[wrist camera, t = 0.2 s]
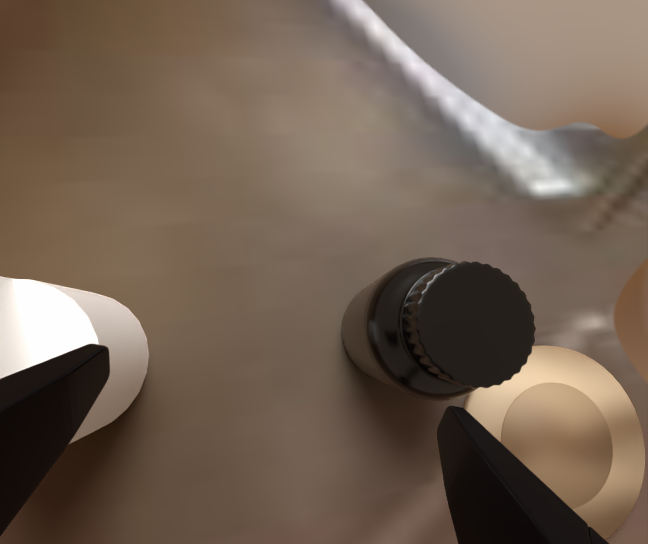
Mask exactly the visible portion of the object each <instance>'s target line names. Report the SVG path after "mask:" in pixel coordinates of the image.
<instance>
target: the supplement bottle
mask: <svg viewBox="0 0 648 544" xmlns="http://www.w3.org/2000/svg"><path fill="white" fill-rule="evenodd" d="M535 329H536V328H535V325H534V315H533V313H532V311H531V304H530V303H529V302H528V300H527V298H526V295H525V293H524V292H523V291H521V290H520V287H519V285H518V284H517V283H516V282H514V281H512V279H511V278H510V276H509V275H507V274H504V273H502V271H501V270H500V269H498V268H493V267H491V266H490V265H489V264H481V263H479V262H472V263H469V262H465V261H464V262H461V263H457V262H454V261H452V260H448V259H443V258H434V257H428V258H419V259H414V260H411V261H408V262H406V263H403V264H401V265H399V266H397V267H396V268H394V269H392V270H391V271H389V272H388V273H386V274H385V275H383V276H382V277H380V278H379V279H377V280H376V281H374V282H373V283H371V284H370V285H369V286H367V287H366V288H364V289H363V290H362V291H360V292H359V293H358V294H357V295H356V296H355V297H354V298H353V299H352V301H351V302H350V304H349V305H348V307H347V309H346V312H345V314H344V318H343V323H342V337H343V342H344V346H345V348H346V351H347V353H348V355H349V357H350V358H351V360H352V361H353V362H354V364H355V365H356V366H357V367H358V368H359V369H360V370H362V371H363V372H364V373H366V374H367V375H369V376H371V377H372V378H375V379H377V380H379V381H381V382H383V383H385V384H388V385H390V386H392V387H394V388H396V389H399V390H401V391H403V392H405V393H407V394H410V395H413V396H415V397H419V398H423V399H427V400H434V401H445V400H452V399H457V398H460V397H463V396H465V395H468V394H470V393H471V392H473V391H475V390H476V389H478V388H479V387H482V388H489V387H491V386H493V385H501V384H502V383H503V382H504V381H508V380H511V378H512V377H513V375H514V374H517V373H519V372H520V370H521V368H522V366H524V365H525V364H526V363H527V360H528V356H529V355H530V354H531V353H532V345H533V344H534V342H535V338H534V332H535Z"/></svg>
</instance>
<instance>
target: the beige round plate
mask: <svg viewBox="0 0 648 544" xmlns="http://www.w3.org/2000/svg"><path fill="white" fill-rule="evenodd" d="M463 408H464V409H465V410H467V411H468V412H469V413H470V414H471V415H472V416H473V417H474V418H475V419H476V420H477V421H478V422H479V423H480V424H481V425H483V426H484V427H485V428H486V429H487V430H488V431H489V432H490V433H491V434H492V435H493V436H494V437H495V438H496V439H498V440H499V441H500V442H501V443H502V444H503V445H504V446H505V447H506V448H507V449H508V450H509V451H510V452H511V453H512V454H514V455H515V456H516V457H517V458H518V459H519V460H520V461H521V462H522V463H523V464H524V465H525V466H526V467H527V468H529V469H530V470H531V471H532V472H533V473H534V474H535V475H536V476H537V477H538V478H539V479H540V480H541V481H542V482H543V483H545V484H546V485H547V486H548V487H549V488H550V489H551V490H552V491H553V492H554V493H555V494H556V495H557V496H558V497H560V498H561V499H562V500H563V501H564V502H565V503H566V504H567V505H568V506H569V507H570V508H571V509H572V510H573V511H574V512H576V513H577V514H578V515H579V516H580V517H581V518H582V519H583V520H584V521H585V522H586V523H587V524H588V527H592V528H593V529H594V530H595V531H596V532H597V533H598V534H599V535H600V536H601V537H602V538H603V539H606V538H607V537H609V536H610V535H611V534H612V533H614V532H615V531H616V530H617V529H618V528H619V527H620V526H621V525H622V523H623V522H624V521H625V520H626V519H627V517H628V515H629V514H630V512H631V511H632V509H633V507H634V505H635V503H636V500H637V498H638V496H639V493H640V489H641V486H642V482H643V476H644V468H645V448H644V440H643V434H642V430H641V426H640V423H639V419H638V417H637V414H636V412H635V409H634V407H633V405H632V403H631V401H630V399H629V397H628V396H627V394H626V393H625V391H624V390H623V388H622V387H621V385H620V384H619V383H618V382H617V381H616V379H615V378H614V377H613V376H612V375H611V374H610V373H609V372H608V371H607V370H606V369H605V368H604V367H602V366H601V365H600V364H598V363H597V362H595V361H594V360H592V359H591V358H589V357H587V356H585V355H584V354H581V353H579V352H576V351H574V350H571V349H567V348H563V347H556V346H544V345H540V346H532V353H531V354H530V355H529V356H528V360H527V363H526V364H525V365H524V366H522V368H521V370H520V372H519V373H517V374H514V375H513V377H512V378H511V380H508V381H504V382H503V383H502V384H501V385H493V386H491V387H489V388H482V387H479V388H478V389H476V390H475V391H473V392H471V393H470V394H468V396H467V398H466V400H465V403H464V407H463Z"/></svg>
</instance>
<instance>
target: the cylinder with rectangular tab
mask: <svg viewBox="0 0 648 544" xmlns="http://www.w3.org/2000/svg"><path fill="white" fill-rule="evenodd" d="M87 344H98V345H104V346H107V347H108V349H109V358H110V375H109V378H108V381H107V383H106V384H105V386H104V388H103V389H102V391H101V393H100V394H99V396H98V398H97V399H96V401H95V403H94V404H93V406H92V408H91V409H90V411H89V413H88V414H87V416H86V418H85V419H84V421H83V423H82V424H81V426H80V428H79V429H78V431H77V432H76V434H75V436H74V437H73V439H72V440H71V441H70V443H72V442H74V441H76V440H78V439H80V438H82V437H84V436H86V435H88V434H90V433H92V432H94V431H96V430H98V429H100V428H102V427H104V426H106V425H107V424H109V423H111V422H113V421H114V420H115V419H116V418H117V417H118V416H120V415H121V414H122V413H123V412H124V411H125V410H126V409H128V407H129V406H130V405H131V403H132V402H133V400H134V399H135V398H136V396H137V395H138V393H139V392H140V389H141V387H142V384H143V382H144V379H145V377H146V374H147V367H148V359H149V352H148V345H147V338H146V335H145V333H144V331H143V329H142V327H141V324H140V322H139V321H138V319H137V318H136V317H135V316H134V315H133V314H132V313H131V311H130V310H129V309H128V308H127V307H125V306H124V305H122V304H120V303H119V302H117V301H116V300H114V299H112V298H109V297H106V296H103V295H100V294H96V293H92V292H87V291H82V290H78V289H73V288H68V287H63V286H58V285H54V284H49V283H44V282H39V281H34V280H27V279H11V278H6V277H1V276H0V379H1V378H3V377H6V376H8V375H11V374H13V373H16V372H18V371H21V370H24V369H26V368H29V367H31V366H34V365H36V364H39V363H41V362H44V361H46V360H49V359H52V358H54V357H57V356H59V355H62V354H64V353H67V352H69V351H72V350H74V349H77V348H80V347H82V346H85V345H87ZM70 443H69V444H70Z"/></svg>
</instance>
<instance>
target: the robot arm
mask: <svg viewBox="0 0 648 544" xmlns="http://www.w3.org/2000/svg"><path fill="white" fill-rule="evenodd" d="M109 375H110V358H109V349H108V347H107V346H104V345H98V344H87V345H85V346H82V347H80V348H77V349H74V350H72V351H69V352H67V353H64V354H62V355H59V356H57V357H54V358H52V359H49V360H46V361H44V362H41V363H39V364H36V365H34V366H31V367H29V368H26V369H24V370H21V371H18V372H16V373H13V374H11V375H8V376H6V377H3V378H1V379H0V536H1V535H2V533H3V532H4V531H5V529H6V528H7V527H8V525H9V524H10V523H11V521H12V520H13V518H14V517H15V516H16V514H17V513H18V512H19V510H20V509H21V508H22V506H23V505H24V504H25V502H26V501H27V500H28V498H29V497H30V496H31V494H32V493H33V491H34V490H35V489H36V487H37V486H38V485H39V483H40V482H41V481H42V479H43V478H44V477H45V475H46V474H47V473H48V471H49V470H50V469H51V467H52V466H53V464H54V463H55V462H56V460H57V459H58V458H59V456H60V455H61V454H62V452H63V451H64V450H65V448H66V447H67V446H68V444H69V443H70V441H71V440H72V439H73V437H74V436H75V434H76V432H77V431H78V429H79V428H80V426H81V424H82V423H83V421H84V419H85V418H86V416H87V414H88V413H89V411H90V409H91V408H92V406H93V404H94V403H95V401H96V399H97V398H98V396H99V394H100V393H101V391H102V389H103V388H104V386H105V384H106V383H107V381H108V378H109ZM437 440H438V446H439V453H440V459H441V466H442V473H443V479H444V486H445V491H446V496H447V501H448V505H449V509H450V513H451V517H452V521H453V524H454V528H455V532H456V536H457V540H458V544H609V543H608V542H607V541H606V540H604V539H603V538H602V537H601V536H600V535H599V534H598V533H597V532H596V531H595V530H594V529H593V528H592V527H588V524H587V523H586V522H585V521H584V520H583V519H582V518H581V517H580V516H579V515H578V514H577V513H576V512H574V511H573V510H572V509H571V508H570V507H569V506H568V505H567V504H566V503H565V502H564V501H563V500H562V499H561V498H560V497H558V496H557V495H556V494H555V493H554V492H553V491H552V490H551V489H550V488H549V487H548V486H547V485H546V484H545V483H543V482H542V481H541V480H540V479H539V478H538V477H537V476H536V475H535V474H534V473H533V472H532V471H531V470H530V469H529V468H527V467H526V466H525V465H524V464H523V463H522V462H521V461H520V460H519V459H518V458H517V457H516V456H515V455H514V454H512V453H511V452H510V451H509V450H508V449H507V448H506V447H505V446H504V445H503V444H502V443H501V442H500V441H499V440H498V439H496V438H495V437H494V436H493V435H492V434H491V433H490V432H489V431H488V430H487V429H486V428H485V427H484V426H483V425H481V424H480V423H479V422H478V421H477V420H476V419H475V418H474V417H473V416H472V415H471V414H470V413H469V412H468V411H467V410H465V409H464V408H461V407H455V406H449V407H447V409H446V410H445V413H444V415H443V417H442V419H441V421H440V424H439V426H438V429H437Z"/></svg>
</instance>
